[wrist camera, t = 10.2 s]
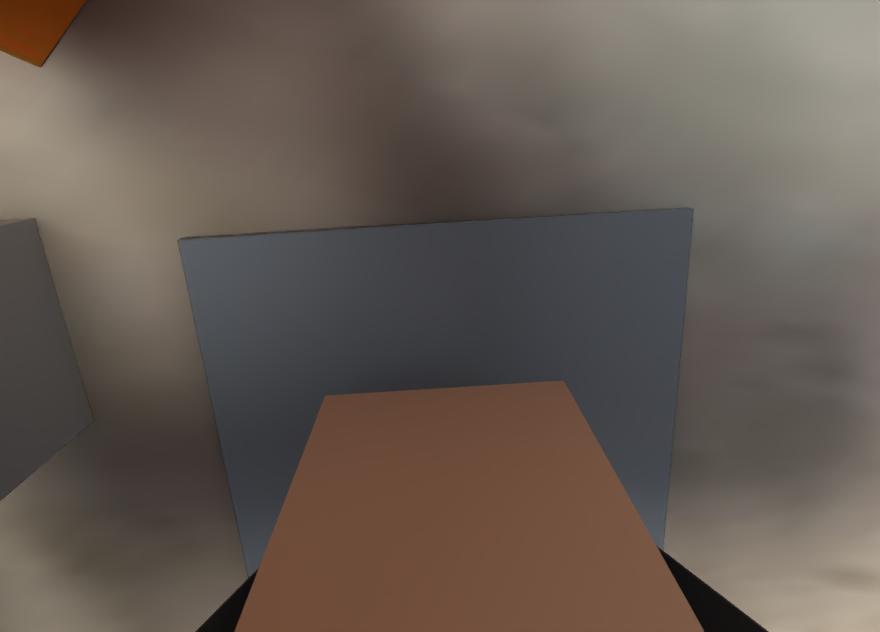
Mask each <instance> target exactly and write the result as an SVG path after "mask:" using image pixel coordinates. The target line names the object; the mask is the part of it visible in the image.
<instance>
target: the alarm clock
mask: <svg viewBox="0 0 880 632" xmlns="http://www.w3.org/2000/svg"><path fill="white" fill-rule="evenodd" d="M85 1H86V0H0V51H2V52H5V53H7V54H10V55H12V56H14V57H17V58H19V59H21V60H24V61H26V62H28V63H31V64H33V65H36V66H38V67H41V65H42V64H43V62H44V61H45V59H46V58H47V56H48V55H49V54H50V52H51V51H52V49H53V48H54V46H55V45H56V43H57V42H58V41H59V39H60V38H61V36H62V35H63V33H64V32H65V30H66V29H67V28H68V26H69V25H70V23H71V22H72V20H73V19H74V17H75V16H76V15H77V13H78V12H79V10H80V9H81V7H82V6H83V4H84V3H85Z"/></svg>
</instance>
